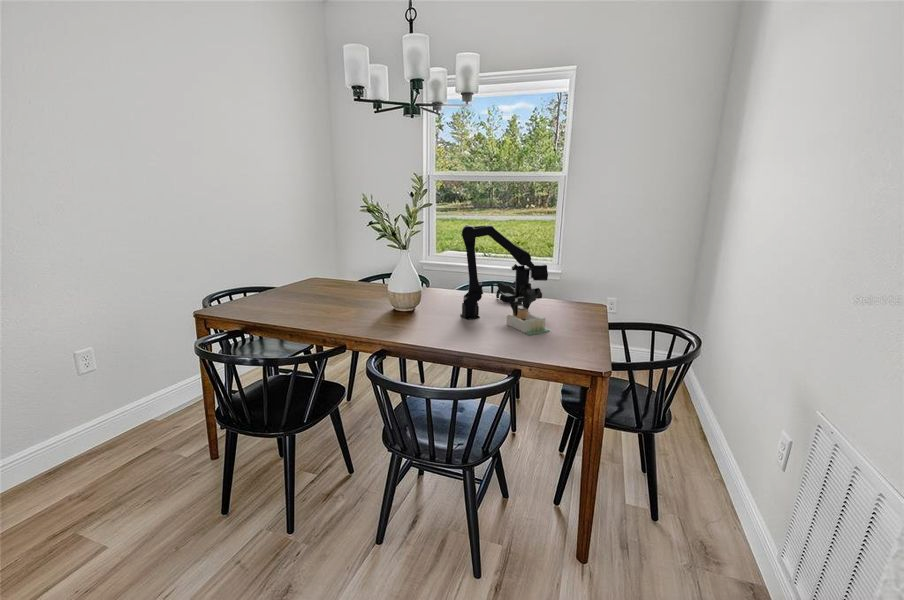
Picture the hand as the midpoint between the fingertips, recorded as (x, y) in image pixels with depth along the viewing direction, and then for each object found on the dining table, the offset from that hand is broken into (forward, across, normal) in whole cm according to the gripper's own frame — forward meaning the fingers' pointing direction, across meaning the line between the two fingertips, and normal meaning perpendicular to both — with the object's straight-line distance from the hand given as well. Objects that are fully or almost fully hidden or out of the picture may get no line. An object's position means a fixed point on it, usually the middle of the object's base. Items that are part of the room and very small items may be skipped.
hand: (520, 315), depth 183 cm
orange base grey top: (+1, 0, 0) cm, 1 cm away
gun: (+2, +11, +23) cm, 25 cm away
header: (+1, -5, -12) cm, 13 cm away
